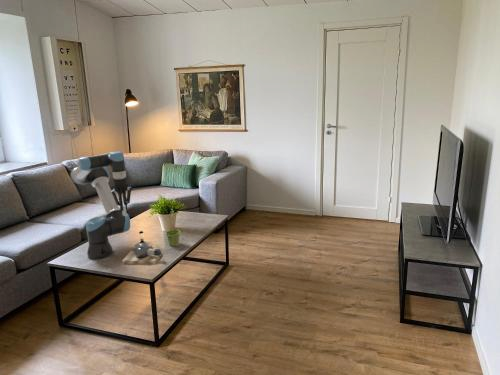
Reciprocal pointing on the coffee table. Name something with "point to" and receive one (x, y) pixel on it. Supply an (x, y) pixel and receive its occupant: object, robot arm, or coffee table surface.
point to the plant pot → (173, 237)
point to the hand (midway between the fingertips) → (124, 215)
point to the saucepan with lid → (145, 251)
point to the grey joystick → (142, 241)
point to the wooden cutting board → (140, 259)
